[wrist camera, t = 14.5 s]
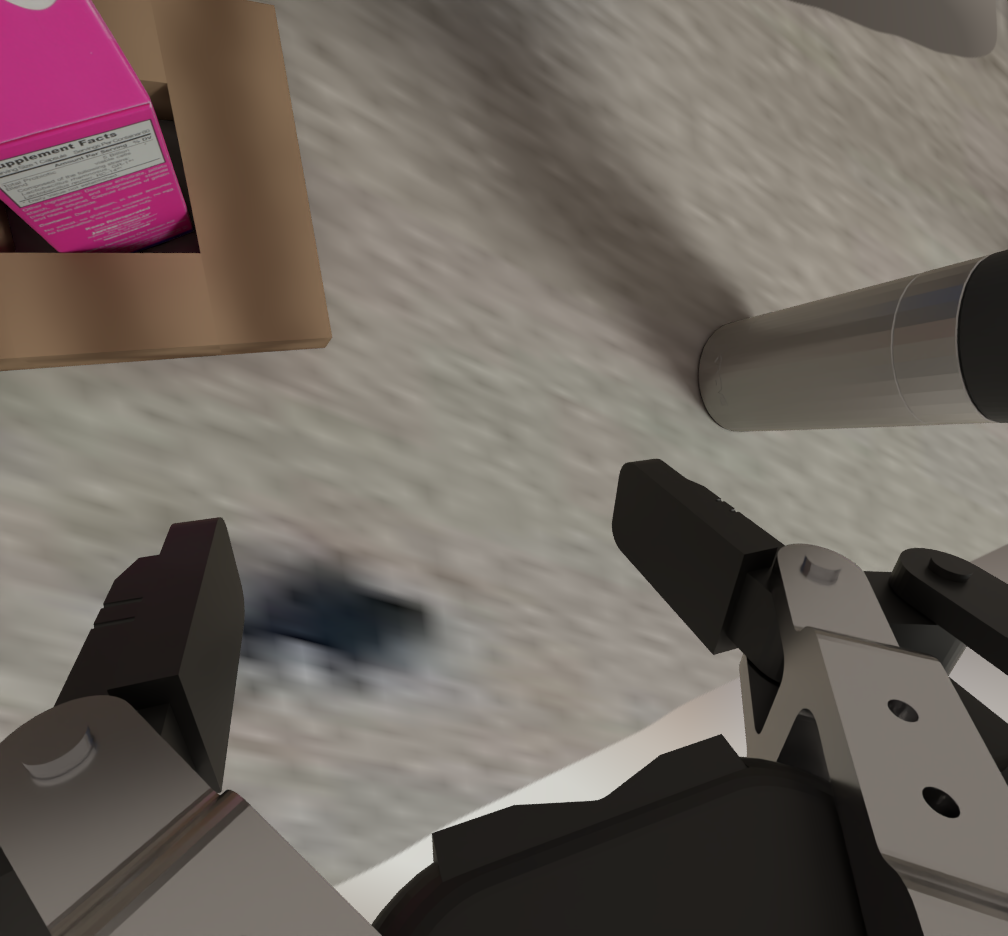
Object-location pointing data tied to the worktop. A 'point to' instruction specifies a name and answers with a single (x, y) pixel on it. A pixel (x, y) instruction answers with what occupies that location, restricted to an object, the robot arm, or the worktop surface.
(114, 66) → the supplement box
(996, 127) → the worktop surface
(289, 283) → the wooden square frame
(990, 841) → the robot arm
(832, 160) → the worktop surface
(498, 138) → the worktop surface
